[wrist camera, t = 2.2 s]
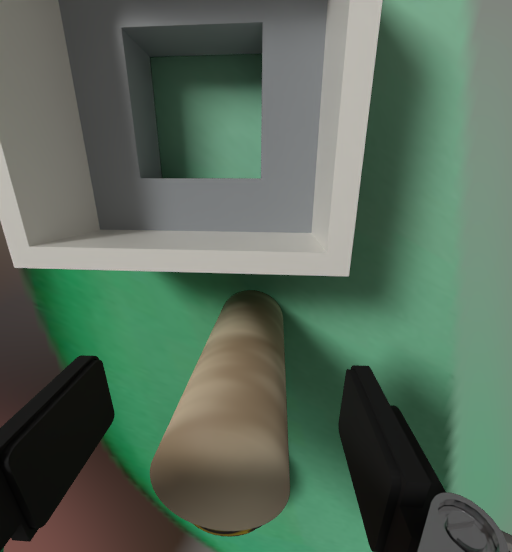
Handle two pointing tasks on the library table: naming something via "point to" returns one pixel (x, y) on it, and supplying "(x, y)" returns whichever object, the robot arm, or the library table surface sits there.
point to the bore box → (144, 138)
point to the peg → (231, 424)
